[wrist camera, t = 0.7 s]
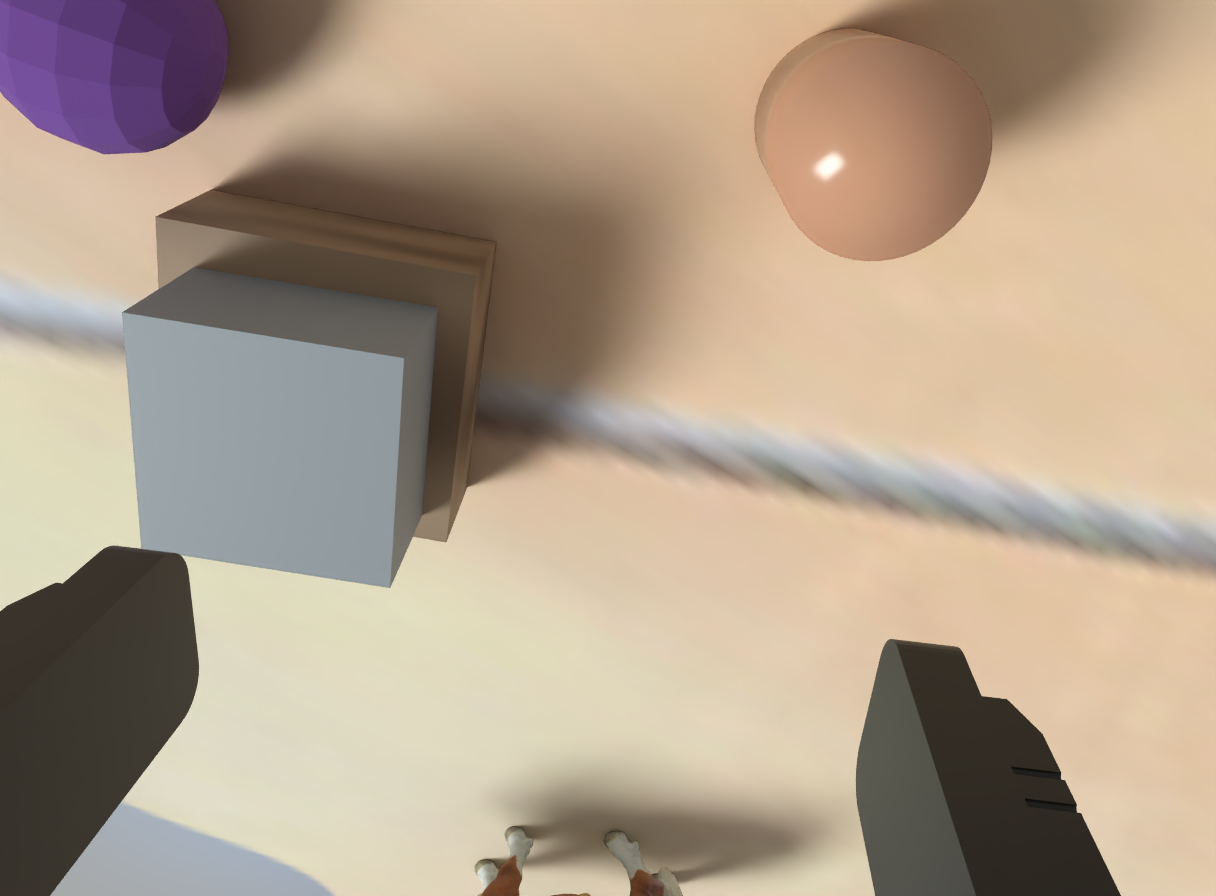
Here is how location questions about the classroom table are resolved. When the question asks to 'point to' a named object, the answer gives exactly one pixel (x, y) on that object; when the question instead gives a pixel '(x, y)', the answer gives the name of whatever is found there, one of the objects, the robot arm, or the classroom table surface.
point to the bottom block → (366, 265)
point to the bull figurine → (503, 892)
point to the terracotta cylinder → (872, 142)
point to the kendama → (113, 68)
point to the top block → (280, 424)
